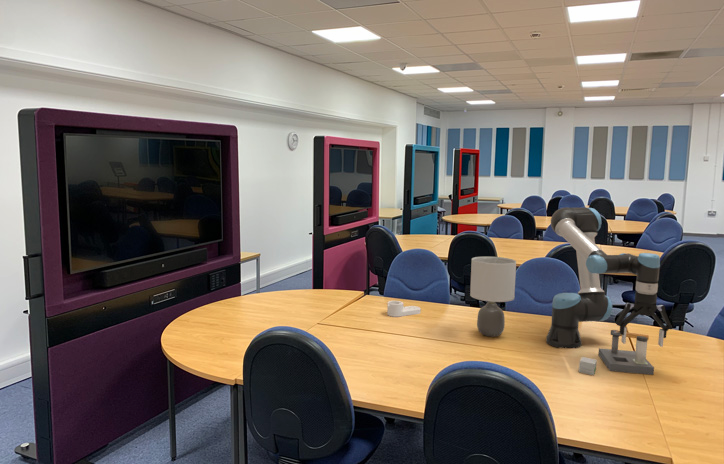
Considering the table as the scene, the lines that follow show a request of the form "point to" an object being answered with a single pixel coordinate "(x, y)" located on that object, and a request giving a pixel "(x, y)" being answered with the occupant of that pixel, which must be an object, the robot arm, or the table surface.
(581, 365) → the small box
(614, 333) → the clip
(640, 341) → the plug
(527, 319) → the table surface
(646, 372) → the socket plate
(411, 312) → the bracket
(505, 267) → the lamp
